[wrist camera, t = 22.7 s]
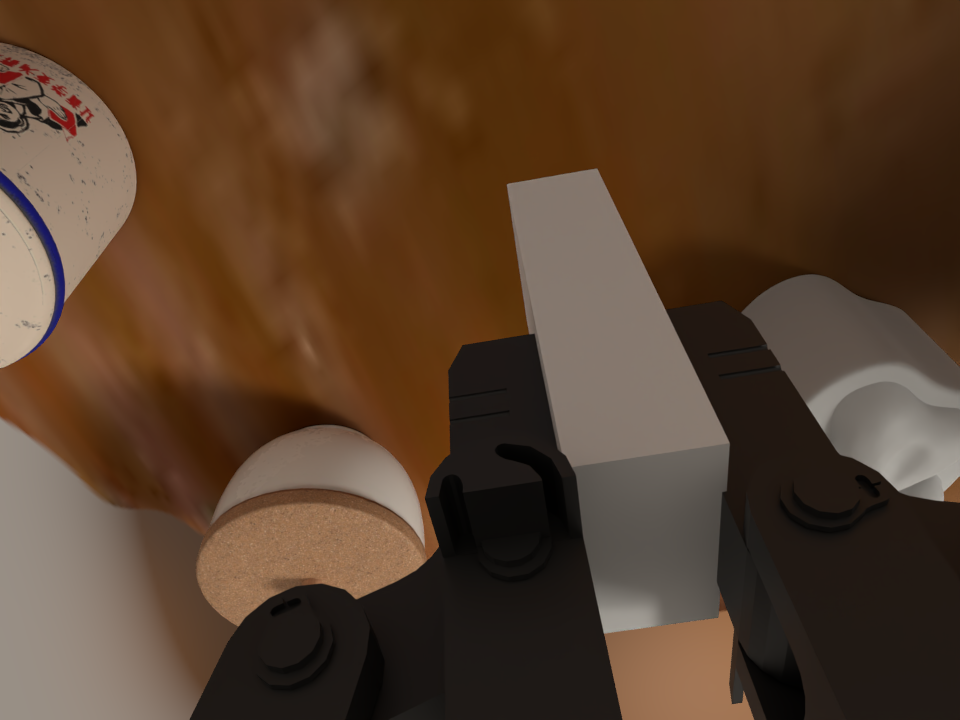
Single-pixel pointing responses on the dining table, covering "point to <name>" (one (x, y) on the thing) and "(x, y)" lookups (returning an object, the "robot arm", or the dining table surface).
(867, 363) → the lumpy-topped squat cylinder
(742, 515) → the robot arm
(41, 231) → the teacup with lid
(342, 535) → the lidded jar
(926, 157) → the dining table surface
